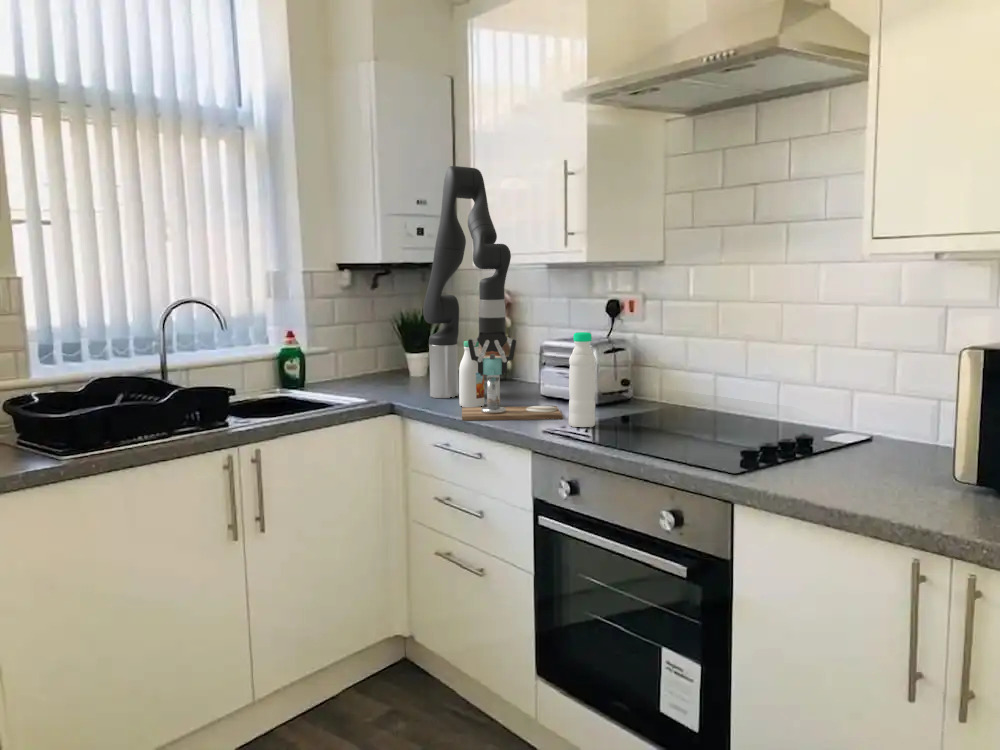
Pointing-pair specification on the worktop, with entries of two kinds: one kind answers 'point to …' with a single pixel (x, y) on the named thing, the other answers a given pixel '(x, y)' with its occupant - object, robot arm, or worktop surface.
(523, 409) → the board
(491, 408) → the post
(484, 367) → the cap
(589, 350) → the white bottle
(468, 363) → the milk bottle
